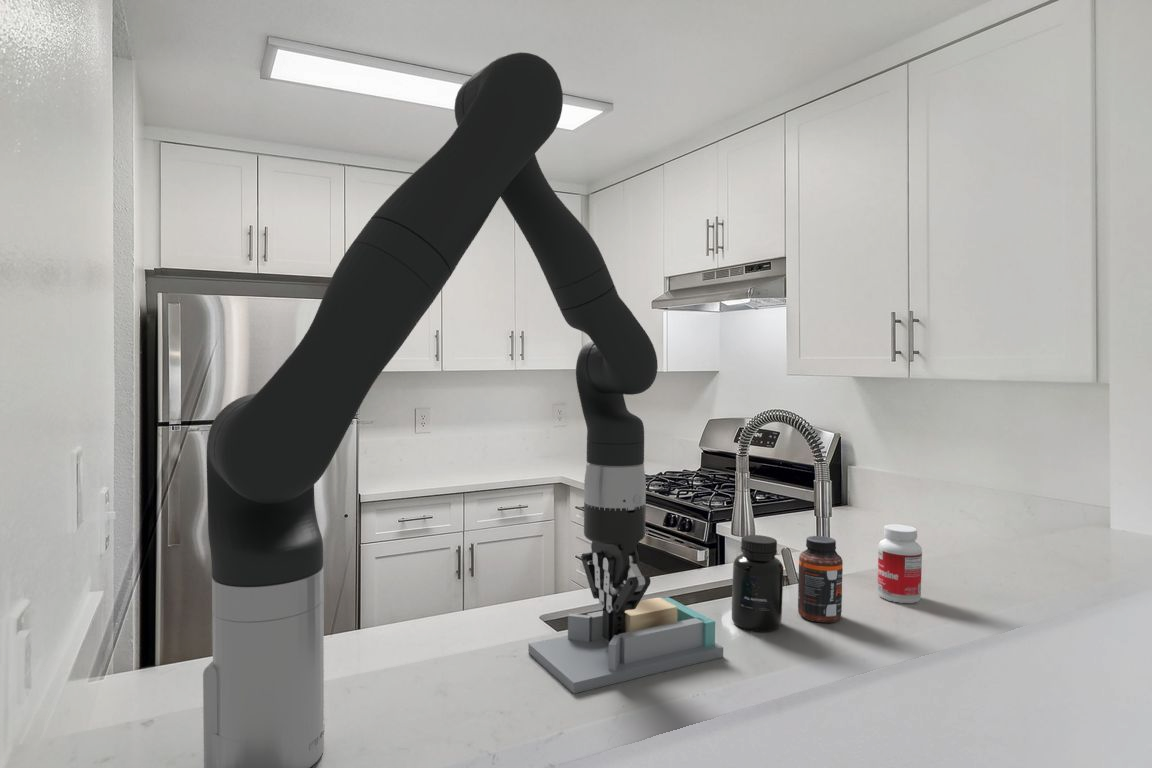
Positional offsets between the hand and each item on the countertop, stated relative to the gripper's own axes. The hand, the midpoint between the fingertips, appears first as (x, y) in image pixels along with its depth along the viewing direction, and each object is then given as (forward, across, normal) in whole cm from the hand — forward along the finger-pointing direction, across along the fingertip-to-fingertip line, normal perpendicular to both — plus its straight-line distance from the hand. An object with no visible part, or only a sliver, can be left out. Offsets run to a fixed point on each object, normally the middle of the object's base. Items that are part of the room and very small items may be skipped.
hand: (613, 639), depth 86 cm
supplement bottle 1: (+2, 0, +24) cm, 24 cm away
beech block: (+1, 0, +5) cm, 5 cm away
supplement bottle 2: (+2, +2, +34) cm, 34 cm away
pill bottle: (+2, +2, +51) cm, 51 cm away
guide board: (+2, 0, +2) cm, 3 cm away
